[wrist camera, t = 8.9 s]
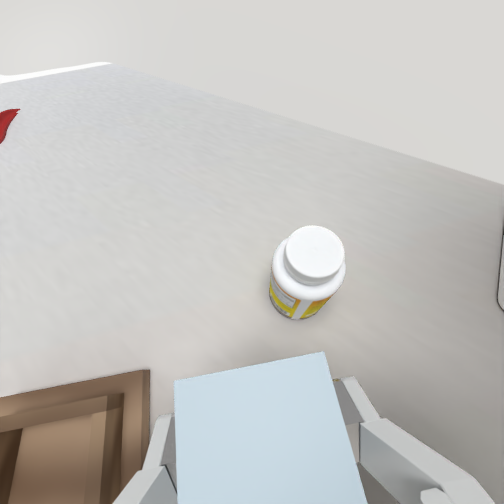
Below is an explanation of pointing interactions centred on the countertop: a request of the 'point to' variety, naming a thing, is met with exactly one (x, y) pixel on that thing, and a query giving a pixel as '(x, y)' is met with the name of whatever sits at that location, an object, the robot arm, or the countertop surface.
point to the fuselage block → (264, 437)
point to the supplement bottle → (306, 271)
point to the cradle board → (74, 440)
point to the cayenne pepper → (6, 121)
